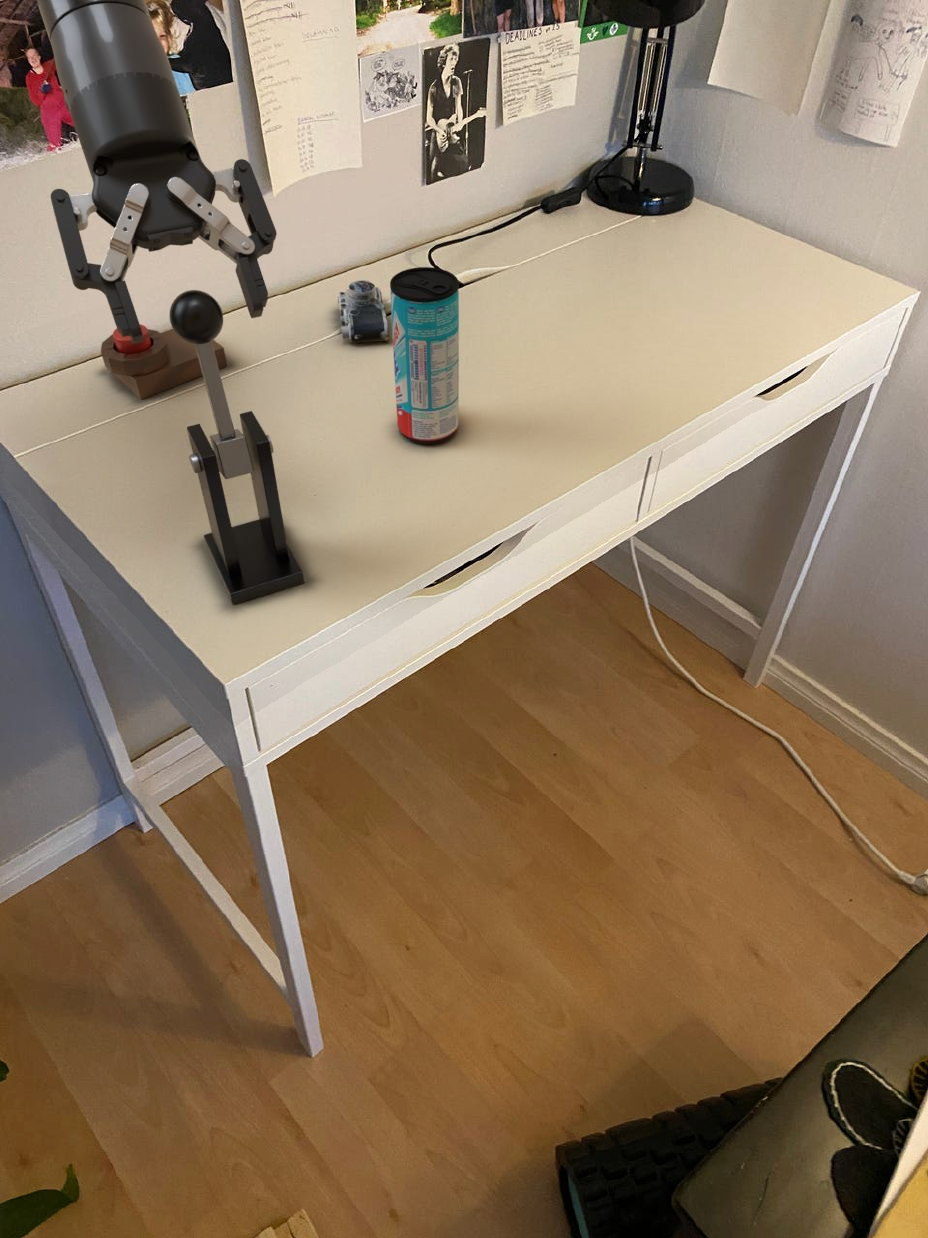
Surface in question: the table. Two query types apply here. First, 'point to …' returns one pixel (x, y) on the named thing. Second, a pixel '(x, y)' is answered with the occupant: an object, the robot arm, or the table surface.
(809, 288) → the table surface
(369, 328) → the camera
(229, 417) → the lever
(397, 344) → the beverage can
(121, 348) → the button
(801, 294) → the table surface
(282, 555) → the bracket
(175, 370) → the button block
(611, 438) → the table surface
